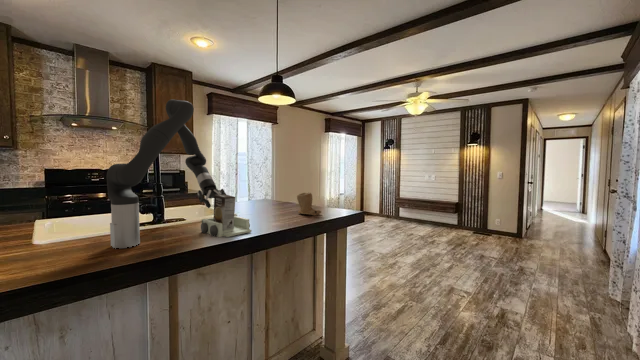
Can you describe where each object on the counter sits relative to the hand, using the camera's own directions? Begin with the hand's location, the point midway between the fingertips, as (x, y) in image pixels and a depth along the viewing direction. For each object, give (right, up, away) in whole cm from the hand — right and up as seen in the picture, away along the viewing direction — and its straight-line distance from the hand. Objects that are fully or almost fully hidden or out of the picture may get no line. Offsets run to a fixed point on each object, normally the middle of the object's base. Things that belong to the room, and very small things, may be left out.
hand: (217, 206), depth 143 cm
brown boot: (+44, -10, +44) cm, 63 cm away
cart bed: (+7, -12, -6) cm, 15 cm away
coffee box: (+5, -10, -5) cm, 12 cm away
